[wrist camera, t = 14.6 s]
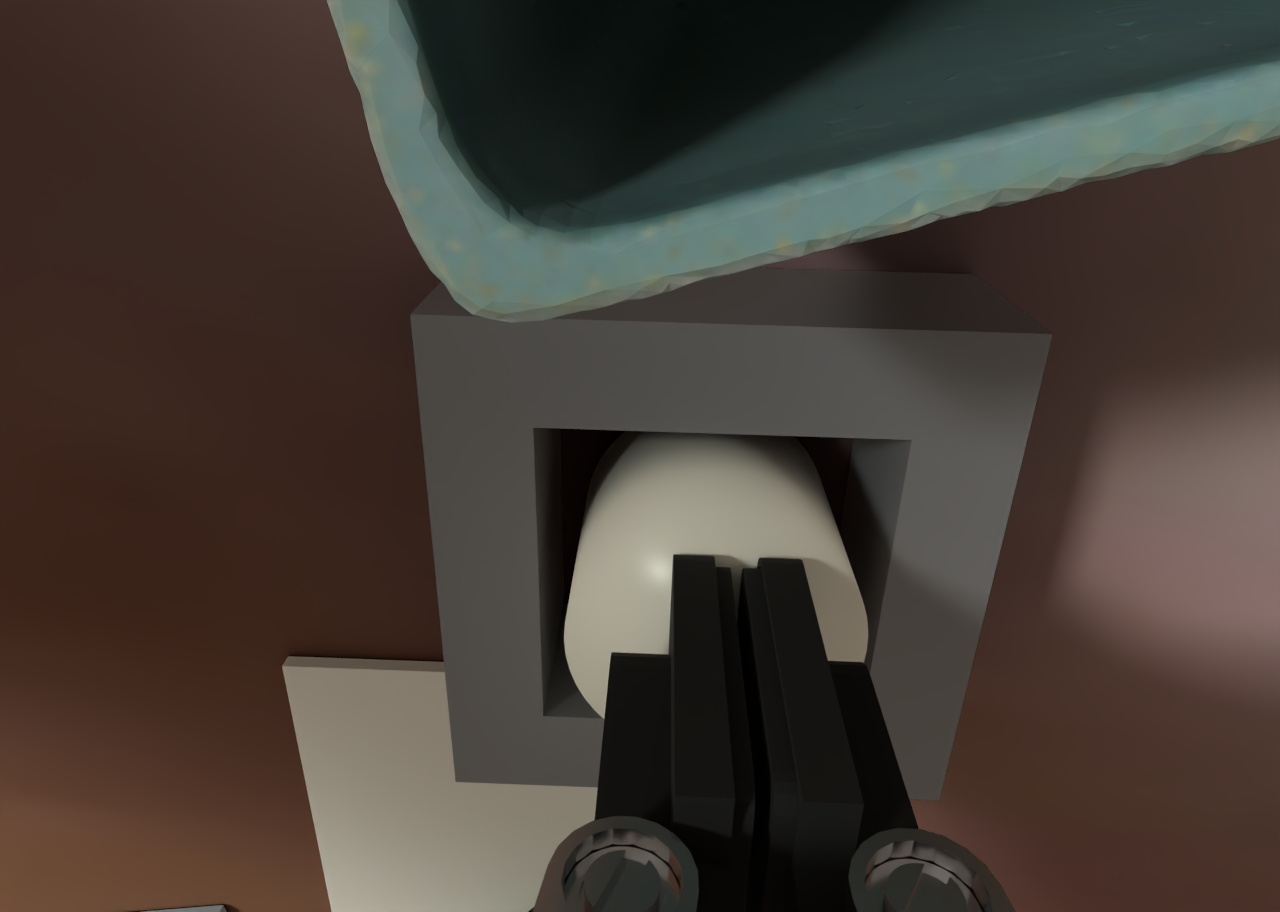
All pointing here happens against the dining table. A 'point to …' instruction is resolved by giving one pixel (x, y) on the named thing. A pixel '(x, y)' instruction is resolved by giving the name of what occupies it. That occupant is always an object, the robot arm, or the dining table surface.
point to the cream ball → (698, 541)
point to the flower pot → (769, 124)
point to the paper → (414, 796)
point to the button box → (725, 404)
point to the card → (195, 909)
